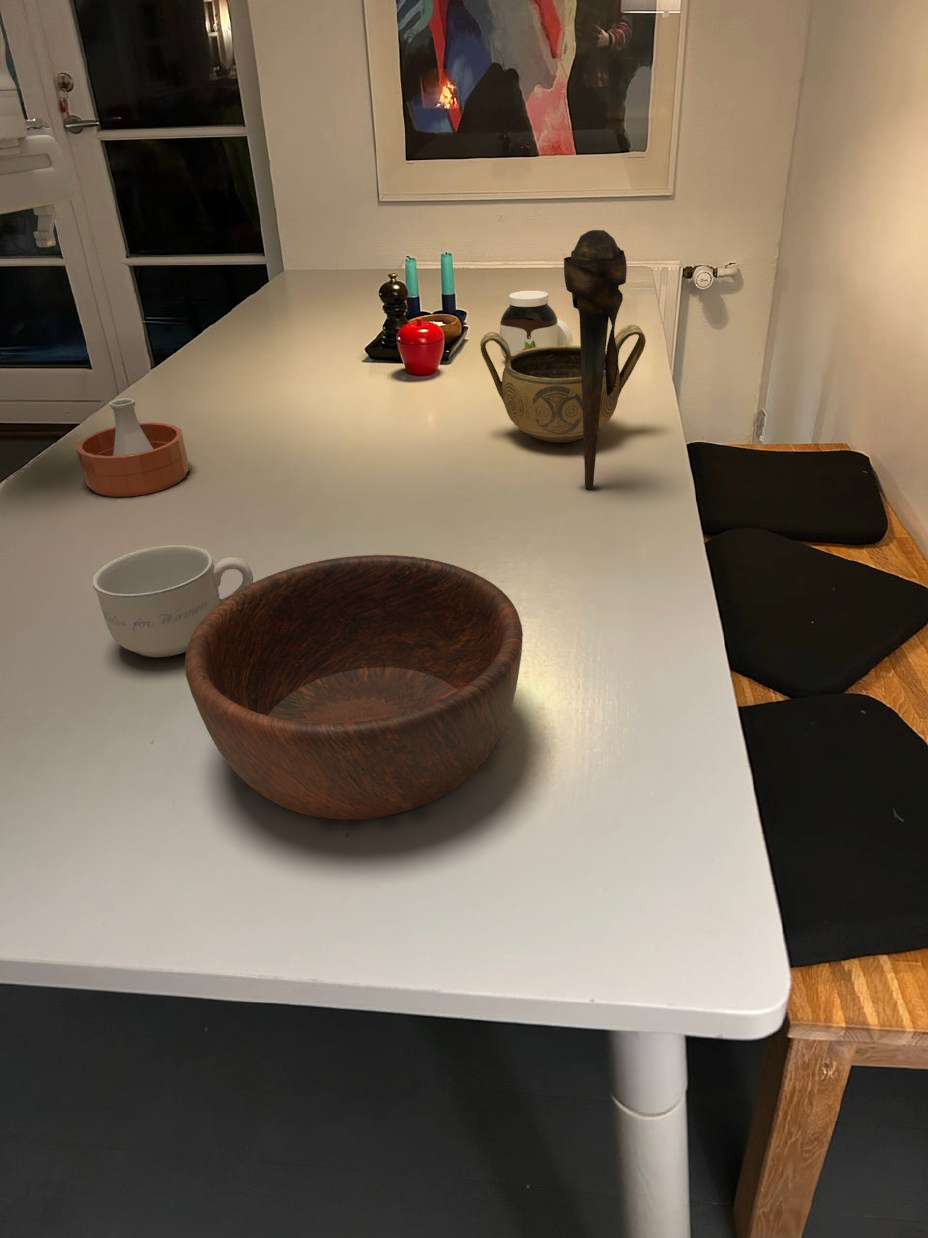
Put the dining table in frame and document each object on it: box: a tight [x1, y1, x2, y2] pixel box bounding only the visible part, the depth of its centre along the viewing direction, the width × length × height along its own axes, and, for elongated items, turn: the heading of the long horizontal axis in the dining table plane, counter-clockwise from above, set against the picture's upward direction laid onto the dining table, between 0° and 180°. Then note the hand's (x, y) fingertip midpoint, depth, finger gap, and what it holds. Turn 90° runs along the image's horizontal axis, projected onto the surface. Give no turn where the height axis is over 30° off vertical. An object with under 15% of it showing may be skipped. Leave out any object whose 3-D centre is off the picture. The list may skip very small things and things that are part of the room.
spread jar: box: [499, 290, 574, 360], centre depth 163 cm, size 12×11×12 cm
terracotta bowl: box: [76, 422, 190, 498], centre depth 123 cm, size 13×13×6 cm
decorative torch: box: [563, 229, 628, 489], centre depth 107 cm, size 7×7×30 cm
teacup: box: [92, 544, 254, 658], centre depth 86 cm, size 14×11×8 cm
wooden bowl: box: [184, 554, 524, 821], centre depth 71 cm, size 25×25×10 cm
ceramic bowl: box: [480, 324, 647, 444], centre depth 127 cm, size 22×17×15 cm
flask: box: [108, 397, 153, 456], centre depth 122 cm, size 7×7×10 cm
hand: (19, 253), depth 110 cm, fingers open, 8 cm apart
